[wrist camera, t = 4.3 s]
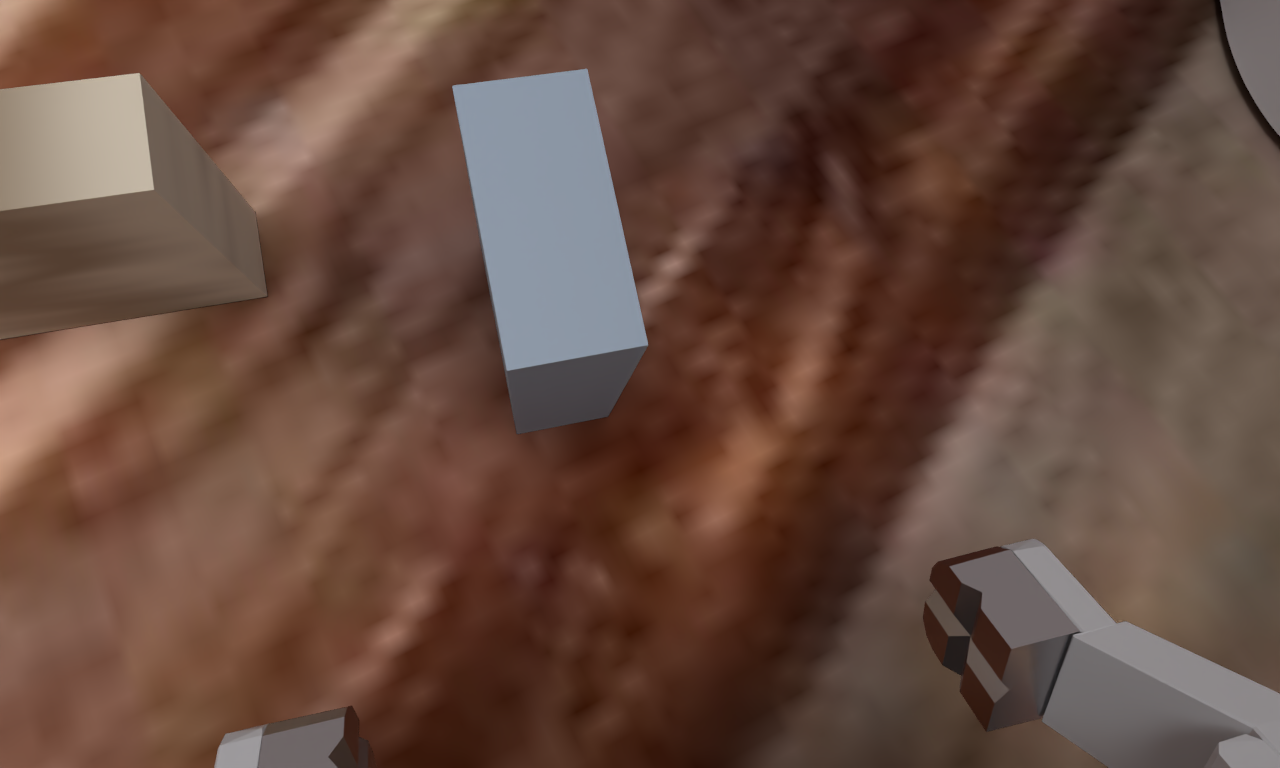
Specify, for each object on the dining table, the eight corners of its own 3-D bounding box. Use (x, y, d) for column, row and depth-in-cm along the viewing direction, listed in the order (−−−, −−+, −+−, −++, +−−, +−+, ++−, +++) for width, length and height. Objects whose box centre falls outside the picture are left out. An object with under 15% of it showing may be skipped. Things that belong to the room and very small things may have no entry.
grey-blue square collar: (480, 245, 24) (452, 85, 16) (569, 231, 24) (587, 68, 16) (516, 434, 23) (506, 371, 15) (608, 416, 23) (648, 345, 15)
